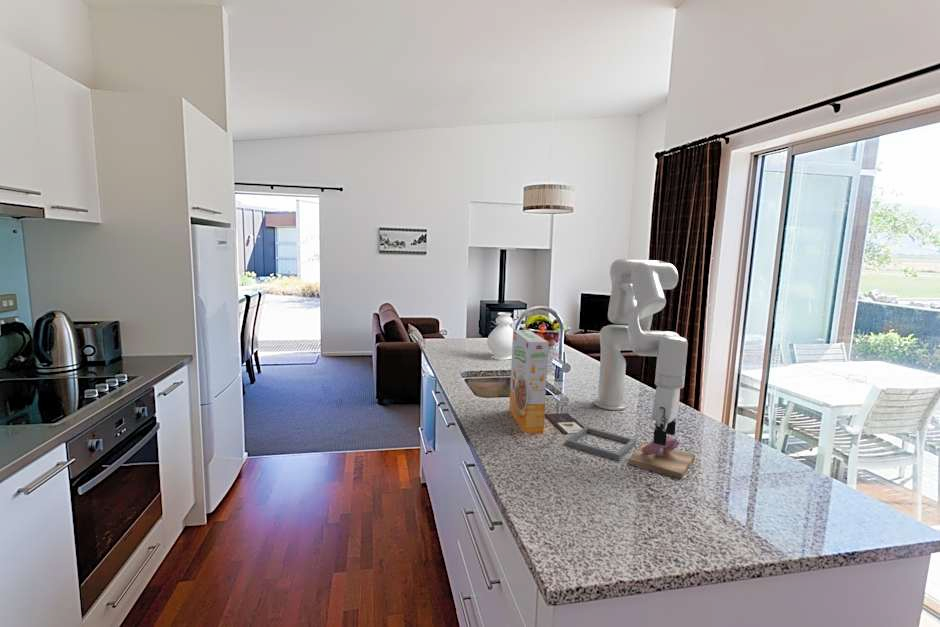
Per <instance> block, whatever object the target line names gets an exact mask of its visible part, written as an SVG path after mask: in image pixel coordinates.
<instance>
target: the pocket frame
mask: <svg viewBox="0 0 940 627" xmlns="http://www.w3.org/2000/svg"><path fill="white" fill-rule="evenodd" d="M584 427H585V428H583V429H582V430H580V431H579V432H577V433H576V434H572V436H570V437H568V438H567V439H566V440H565V446H569V447H572V448H575V449H578V450H583V451H585V452H588V451H589V453H592V454H596V455H599V456H602V455H603V457H606V458H610V459H613V460H616V461H620V460H621V459H622V458H623V457H624V456H625V455H626V454H628V453H629V451H631V449H633V448H634V446H636V445H635V444H637V439H636V438H631V437H628V436H624V435H620V434H617V433H613V432H609V431H605V430H601V429H597V428H594V427H590V426H584ZM588 431H589V433H587V432H588ZM587 434H591V435H594V434H595V435H596V436H598V435H599V436H598V437H602V436H603V437H602V438H606V437H607V438H606V439H609V438H611V439H610V440H613V439H615V440H614V441H617V440H618V442H621V441H622V442H621V443H624V442H625V443H626V444H624V446H622V447H621V448H620V449H619V450H617V452H615V451H612V450H609V449H604V448H601V447H597V446H595V445H591V444H587V443H584V442H580V441H578V440H580V439H581V438H582V437H584V436H586V435H587Z"/></svg>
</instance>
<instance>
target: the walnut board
mask: <svg viewBox="0 0 940 627" xmlns="http://www.w3.org/2000/svg"><path fill="white" fill-rule="evenodd" d="M651 443H652V442H650V441H645V442H644V443H643V444H642V445H641V446H640V447H639V448H638V449H636V451H635V452H634V453H633V454H632V455H631V456H630V457H629V458H628V464H629V465H632V466H636V467H639V468H643V469H646V470H650V471H652V472H656V473H660V474H663V475H666V476H670V477H673V478H677V479H680V480H682V479H683V477H684V476H685V474H687V472H688V470H689V469H688V468H690V467H691V465H692V464H693V463H694V461H695V460H696V459H695V458H696V454H694V453H692V452H687V451H683V450H680V449H677V448H675V449H674V450H672V451H671V452H670V453H669V454H666V455H665V454H664V453H662V454H661V455H660V456H658V457H657V456H656V455H655V453H654V454H651V455H645V454H643V453H642V448H643V447H644V446H646V445H649V444H651Z"/></svg>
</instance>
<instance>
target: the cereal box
mask: <svg viewBox="0 0 940 627" xmlns="http://www.w3.org/2000/svg"><path fill="white" fill-rule="evenodd" d="M549 346H550V344H549V341H548V340H547V339H545V338H543V337H541V336H539V335H538V334H536V333H535V332H533V331H532V330H530V329H528V330H527V329H526V330H523V329H518V330H517V329H513V342H512V355H511V356H512V360H511V364H510V366H511V367H510V384H509V385H510V386H509V407H508V408H509V409H508V411H509V410H510V411H509V412H511V413H512V414H511V413H510V414H511V416H512V415H513V416H512V418H513V419H514V418H515V419H514V421H517V422H516V423H517V425H518V424H519V425H518V426H519V427H521V428H520V429H521V430H523V431H522V432H523V433H539V434H544V429H545V428H544V427H545V416H544V415H545V414H546V412H545V411H546V397H547V396H546V395H547V380H548V379H547V377H548V365H549V363H548V359H549Z"/></svg>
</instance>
